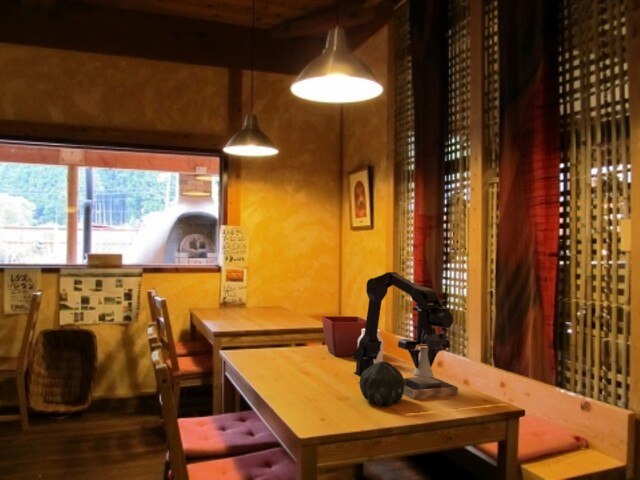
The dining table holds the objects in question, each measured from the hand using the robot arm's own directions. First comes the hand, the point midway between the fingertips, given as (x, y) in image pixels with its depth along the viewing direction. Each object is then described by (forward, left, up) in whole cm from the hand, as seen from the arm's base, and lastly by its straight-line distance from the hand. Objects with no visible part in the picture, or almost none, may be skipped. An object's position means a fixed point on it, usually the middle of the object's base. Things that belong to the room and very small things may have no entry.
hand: (423, 367), depth 191 cm
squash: (-20, -6, -9) cm, 23 cm away
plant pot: (+2, +70, -9) cm, 71 cm away
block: (0, 0, -8) cm, 8 cm away
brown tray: (0, 0, -9) cm, 9 cm away
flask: (0, 0, -3) cm, 3 cm away
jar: (+4, +48, -9) cm, 49 cm away
